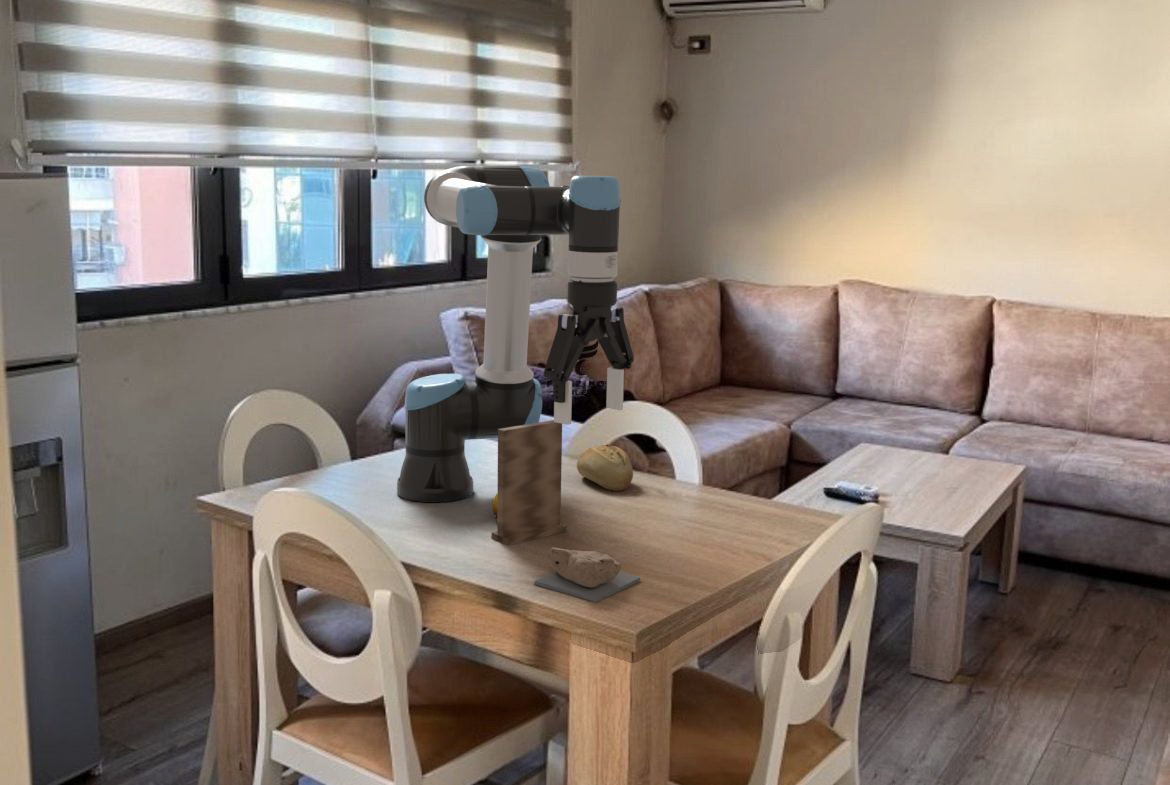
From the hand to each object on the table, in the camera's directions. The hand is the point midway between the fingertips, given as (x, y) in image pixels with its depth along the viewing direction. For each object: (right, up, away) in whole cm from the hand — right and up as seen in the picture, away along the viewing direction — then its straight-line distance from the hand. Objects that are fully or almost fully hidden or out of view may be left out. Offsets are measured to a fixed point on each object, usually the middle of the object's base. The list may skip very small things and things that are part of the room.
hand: (589, 415), depth 182 cm
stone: (-1, -26, +3) cm, 26 cm away
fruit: (-12, -20, +37) cm, 44 cm away
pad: (0, -26, +4) cm, 27 cm away
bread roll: (+3, -16, +62) cm, 64 cm away
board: (-11, -22, +27) cm, 36 cm away
